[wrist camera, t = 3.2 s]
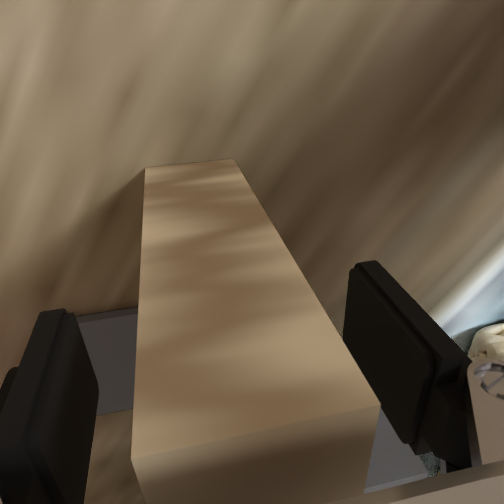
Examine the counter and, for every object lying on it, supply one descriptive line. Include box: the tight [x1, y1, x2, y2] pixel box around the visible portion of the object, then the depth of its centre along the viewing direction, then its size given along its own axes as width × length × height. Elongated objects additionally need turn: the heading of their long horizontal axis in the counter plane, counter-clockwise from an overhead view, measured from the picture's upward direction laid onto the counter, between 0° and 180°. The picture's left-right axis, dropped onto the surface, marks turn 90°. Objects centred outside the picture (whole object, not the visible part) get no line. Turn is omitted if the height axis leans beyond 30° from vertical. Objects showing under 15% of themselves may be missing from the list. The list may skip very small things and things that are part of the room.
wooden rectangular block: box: [131, 159, 381, 504], centre depth 13 cm, size 4×4×14 cm
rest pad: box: [76, 307, 138, 416], centre depth 22 cm, size 7×7×1 cm
